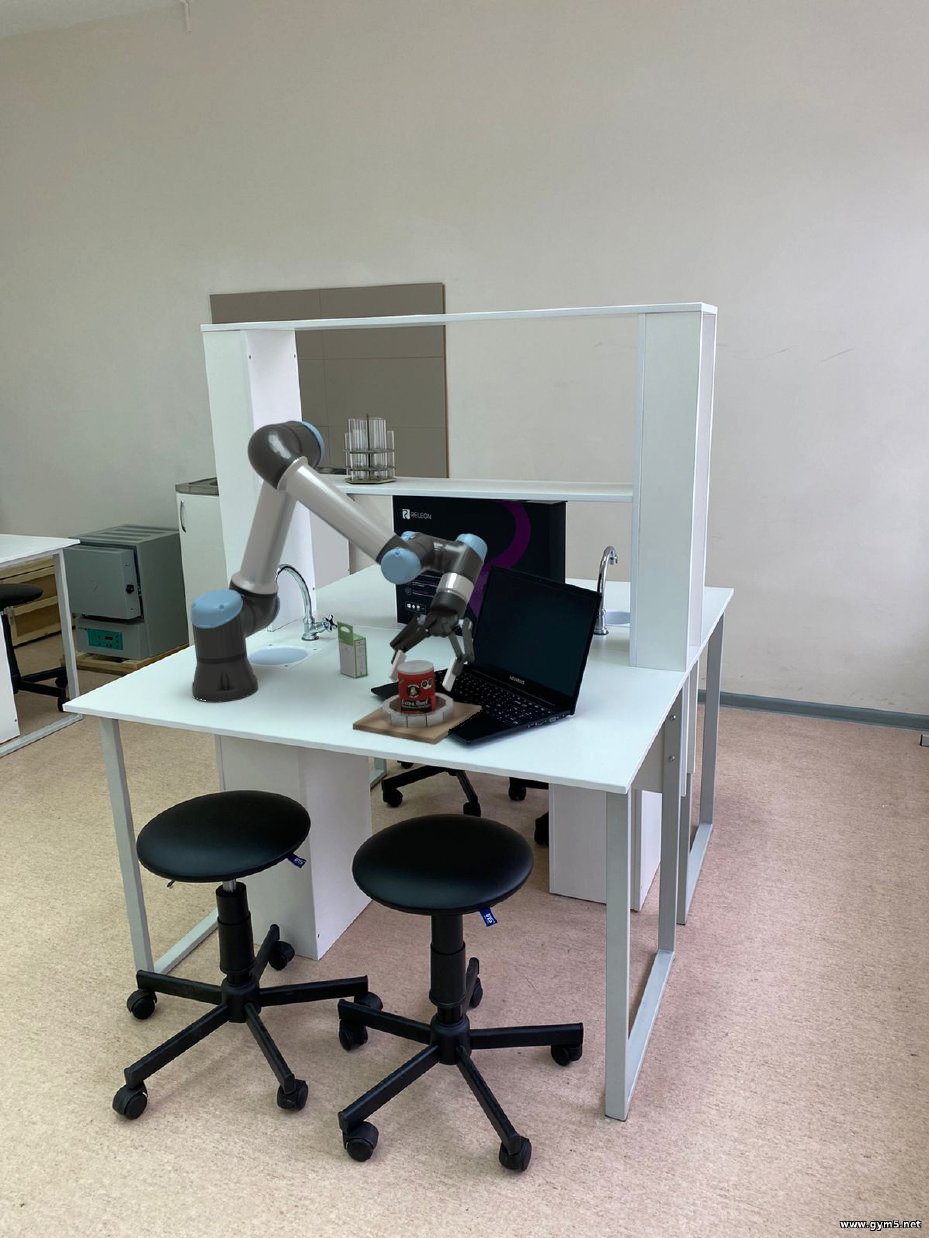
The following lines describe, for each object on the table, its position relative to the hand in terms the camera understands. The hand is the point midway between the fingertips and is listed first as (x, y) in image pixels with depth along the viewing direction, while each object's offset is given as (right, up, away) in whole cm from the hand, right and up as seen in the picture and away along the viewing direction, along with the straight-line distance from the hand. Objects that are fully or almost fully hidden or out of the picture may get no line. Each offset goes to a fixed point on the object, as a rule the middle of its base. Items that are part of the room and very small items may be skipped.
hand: (418, 683), depth 201 cm
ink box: (-18, 0, +34) cm, 38 cm away
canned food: (0, -7, +2) cm, 7 cm away
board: (0, -8, +2) cm, 8 cm away
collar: (0, -7, +2) cm, 7 cm away
